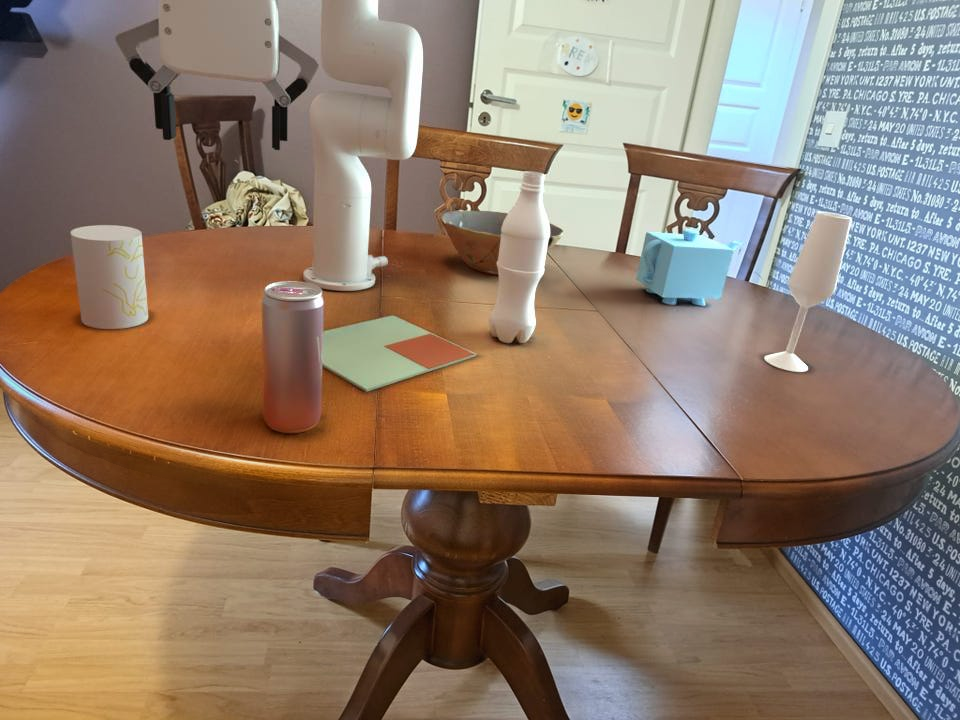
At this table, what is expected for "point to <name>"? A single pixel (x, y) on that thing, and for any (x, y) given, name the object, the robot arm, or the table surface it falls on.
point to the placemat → (386, 352)
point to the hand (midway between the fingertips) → (224, 143)
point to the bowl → (482, 237)
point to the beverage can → (292, 355)
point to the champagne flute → (814, 277)
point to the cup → (110, 276)
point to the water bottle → (521, 262)
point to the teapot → (684, 266)
